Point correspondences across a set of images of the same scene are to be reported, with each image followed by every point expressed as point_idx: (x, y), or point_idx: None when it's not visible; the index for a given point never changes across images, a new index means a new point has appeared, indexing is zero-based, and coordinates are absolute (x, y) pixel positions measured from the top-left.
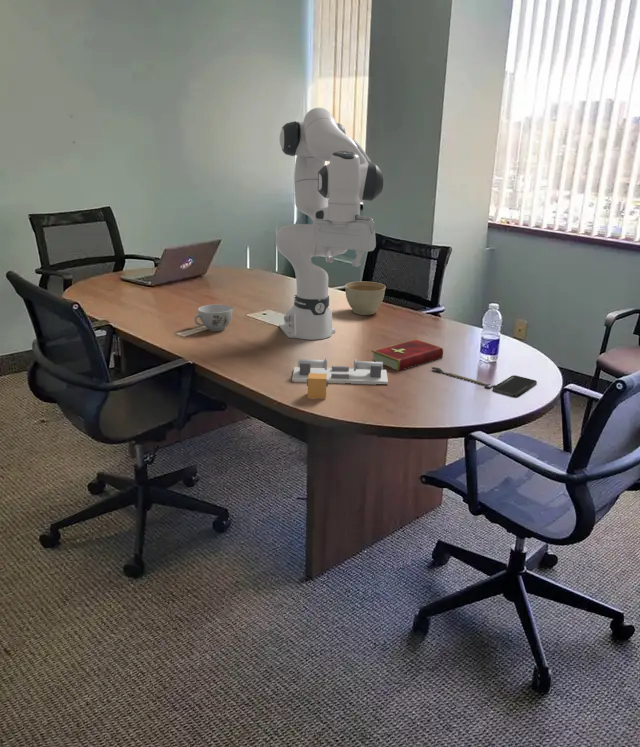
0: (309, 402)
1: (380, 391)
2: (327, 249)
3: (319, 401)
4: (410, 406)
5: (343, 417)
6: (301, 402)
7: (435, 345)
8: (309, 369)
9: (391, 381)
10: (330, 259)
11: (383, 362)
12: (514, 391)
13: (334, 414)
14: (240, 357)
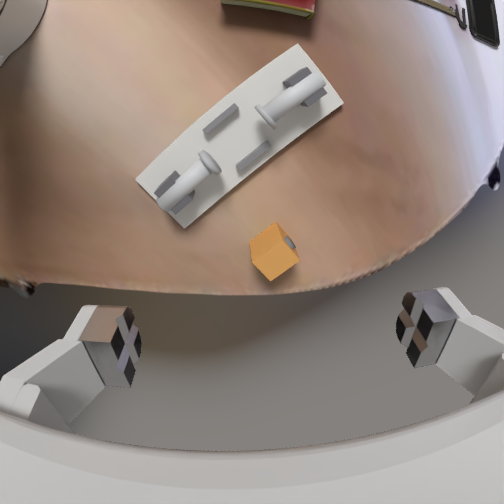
0: None
1: (348, 142)
2: (69, 431)
3: None
4: (417, 168)
5: (354, 270)
6: None
7: None
8: (193, 196)
9: (335, 80)
10: (128, 355)
11: (258, 5)
12: (492, 31)
13: (338, 272)
14: (30, 213)
